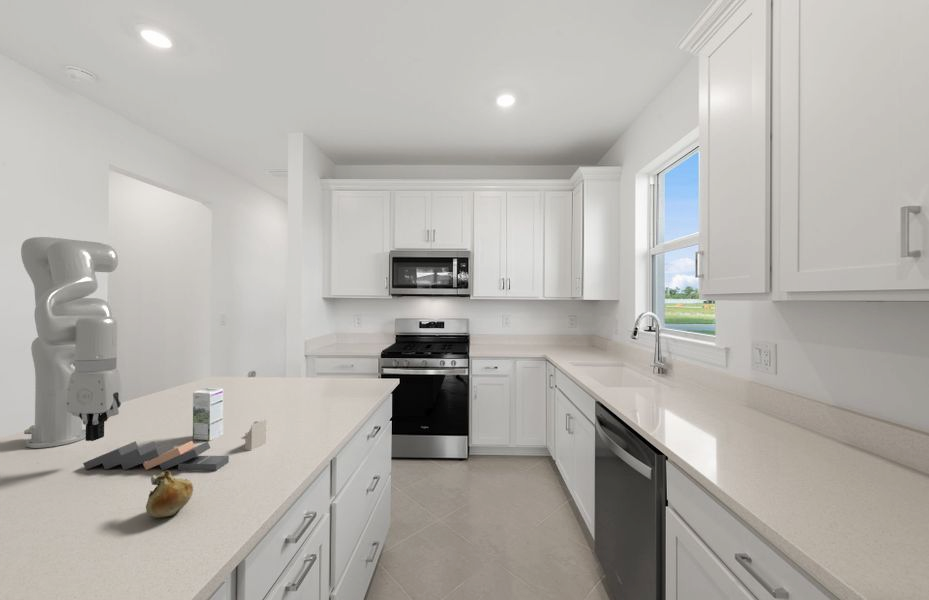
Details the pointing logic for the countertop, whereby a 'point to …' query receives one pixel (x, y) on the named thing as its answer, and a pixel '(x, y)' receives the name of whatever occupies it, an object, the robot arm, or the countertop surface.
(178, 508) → the onion
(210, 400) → the syrup box
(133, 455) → the domino
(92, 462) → the domino
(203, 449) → the domino
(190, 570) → the countertop surface
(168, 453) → the domino
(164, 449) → the domino
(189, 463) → the domino
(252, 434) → the architectural model
